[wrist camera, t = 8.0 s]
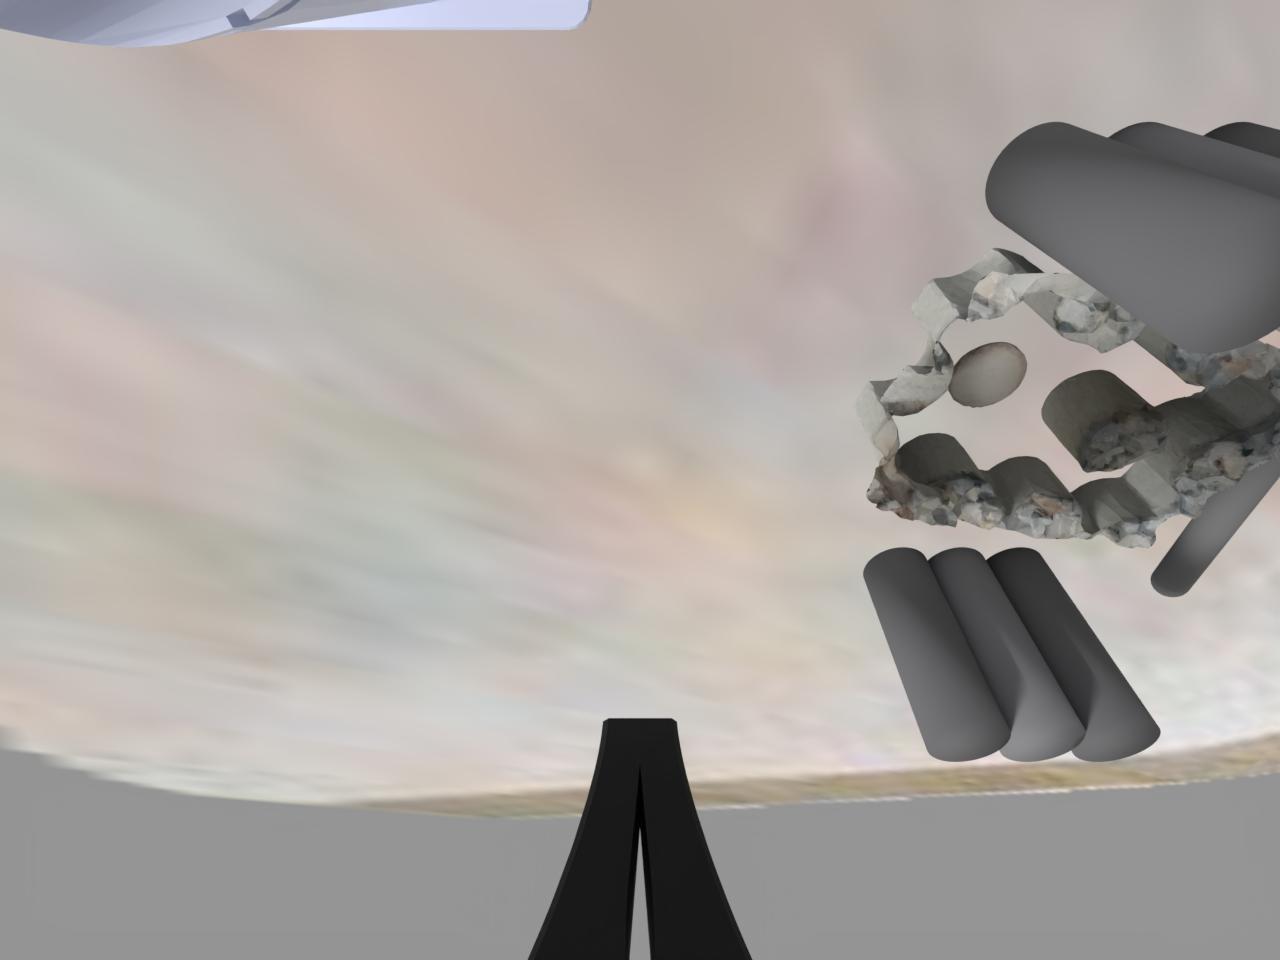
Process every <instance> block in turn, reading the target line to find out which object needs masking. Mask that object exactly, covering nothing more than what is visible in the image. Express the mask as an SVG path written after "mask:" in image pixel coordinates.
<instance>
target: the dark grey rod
mask: <svg viewBox="0 0 1280 960" xmlns="http://www.w3.org/2000/svg"><path fill="white" fill-rule="evenodd" d="M1279 477H1280V448H1279V458H1276V459H1272V460H1270V461H1268V462H1266V463H1264V464H1262V465H1260V466H1258V467H1256V468H1254V469H1252V470H1250V471H1248V472H1247V473H1246V474H1245V475H1244V476H1243V477H1242V478H1241V480H1240V481H1239V483H1238V484H1237V485H1236V486H1231V488H1230V490H1224V491H1221V492H1218V493H1215V494H1213V495H1212V496H1210V497H1209V498H1208V499H1207V500H1206V503H1205V506H1204V509H1203V512H1202V515H1200V516H1199V517H1198V518H1196V519H1191V521H1190V522H1189V523H1188V525H1187V526H1186V527H1185V529H1184V530H1183V532H1182V533H1181V534H1180V536H1179V537H1178V538H1177V540H1176V541H1175V543H1174V544H1173V545H1172V547H1171V548H1170V549H1169V551H1168V552H1167V554H1166V555H1165V556H1164V558H1163V559H1162V560H1161V562H1160V563H1159V565H1158V566H1157V567H1156V569H1155V570H1154V571H1153V573H1152V575H1151V579H1150V580H1151V585H1152V587H1153V588H1154V589H1155V590H1156V591H1157V592H1158V593H1159V594H1161V595H1163V596H1167V597H1179V596H1183V595H1184V594H1186V593H1187V592H1188V591H1189V590H1190V589H1191V588H1192V586H1193V585H1194V584H1195V583H1196V581H1197V580H1198V579H1199V578H1200V576H1201V575H1202V574H1203V573H1204V571H1205V570H1206V569H1207V568H1208V566H1209V565H1210V564H1211V563H1212V561H1213V560H1214V559H1215V558H1216V556H1217V555H1218V554H1219V553H1220V551H1221V550H1222V549H1223V548H1224V546H1225V545H1226V544H1227V543H1228V541H1229V540H1230V539H1231V538H1232V536H1233V535H1234V534H1235V533H1236V531H1237V530H1238V529H1239V528H1240V526H1241V525H1242V524H1243V523H1244V521H1245V520H1246V519H1247V518H1248V516H1249V515H1250V514H1251V513H1252V511H1253V510H1254V509H1255V508H1256V506H1257V505H1258V504H1259V503H1260V501H1261V500H1262V499H1263V497H1264V496H1265V495H1266V494H1267V492H1268V491H1269V490H1270V489H1271V487H1272V486H1273V485H1274V484H1275V482H1276V481H1277V480H1278V479H1279Z"/></svg>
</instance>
